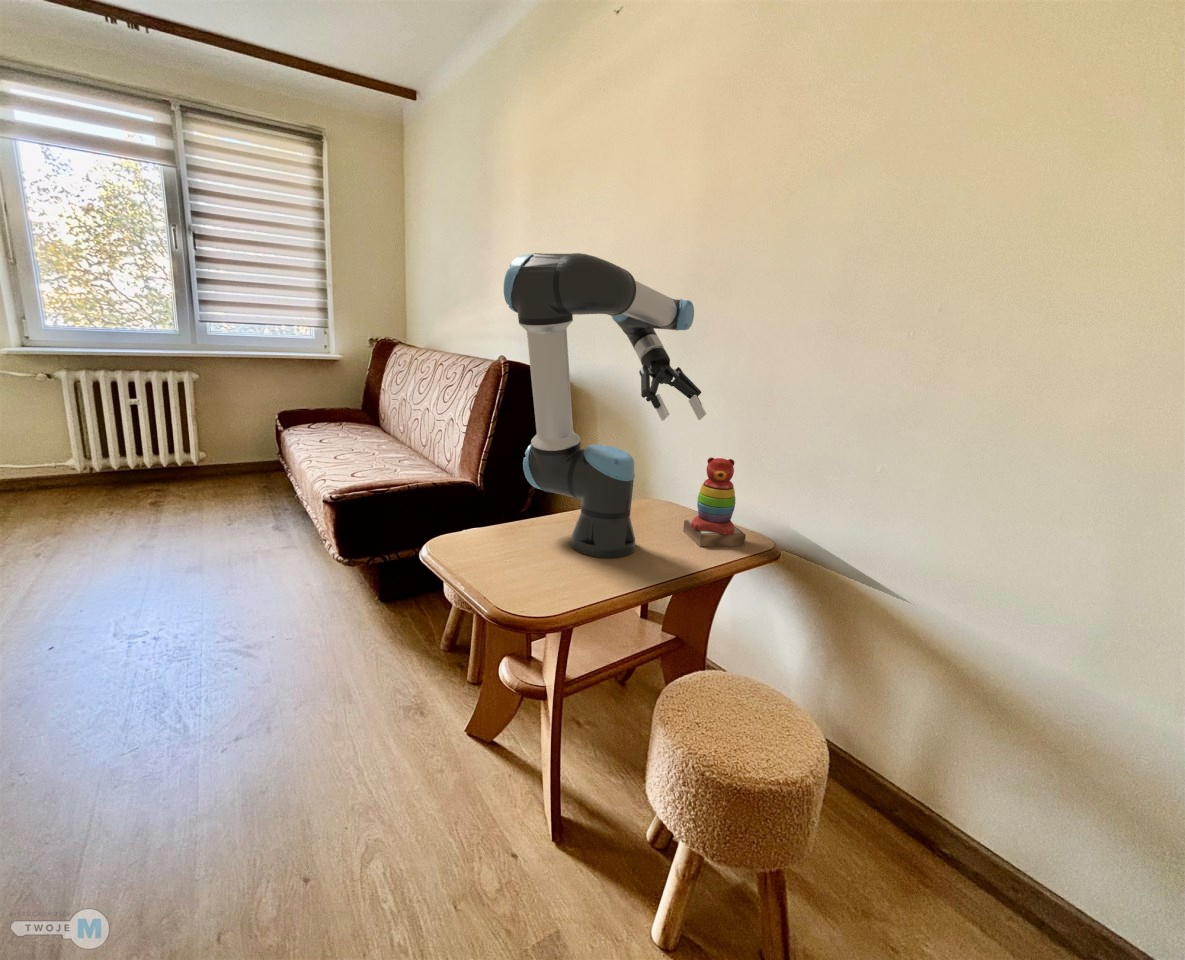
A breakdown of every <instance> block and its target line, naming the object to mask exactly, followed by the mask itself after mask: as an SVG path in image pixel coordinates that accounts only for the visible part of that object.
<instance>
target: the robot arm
mask: <svg viewBox="0 0 1185 960" xmlns="http://www.w3.org/2000/svg"><path fill="white" fill-rule="evenodd" d="M503 297H504V301H505V303H506V305H508V308H509V310H512V311H513V312H514V313H517V320H518V325H520V326H521V327H522V328H523V329H524V330H525V331H526V337H527V346H528V347H527V348H528V357H529V365H530V366H529V369H530V379H531V389H532V390H531V391H532V397H533V408H534V418H535V420H534V421H535V429H536V430H535V431H536V434H535V435H534V436H533V437H532V438H531V440H530V444H528V446H527V448H526V449H525V452H524V455H525V457H523V461H522V469H523V473H524V476H525V479H526V480H527V482H528V483H529V484H530V485H531V486H532V487H534V488H535V489H538V490H541V491H544V492H545V493H554V494H558V495H563V496H567V497H569V498H570V497H571V498H576V499H579V500H581V501H580V502H581V503H580V505H581V506H580V514H579V517H578V519H577V521H576V524H575V526H574V529H573V531H572V535H571V547H572V548H573V549H574V550H576V551H577V552H579V553H581V554H583V555H587V556H590V557H596V558H604V559H605V558H606V559H610V558H611V559H612V558H613V559H614V558H621V557H622V558H623V557H626V556H628V555H631V554H633V552H634V551H635V548H636V537H635V533H634V528H633V524H632V519H631V509H632V501H633V500H632V499H633V492H634V491H633V490H634V479H635V477H636V475H635V459H634V458H633V456H632V454H630V453H629V452H627V451H625V450H623V449H621V448H618V447H615V446H614V447H613V446H612V445H611V446H609V445H603V444H589V445H587V446H586V447H585V448H582V446H581V445H582V444H581V437H580V436H579V434H577V433H576V432H575V431H574V425H573V424H574V423H573V409H572V396H571V395H572V394H571V390H572V389H571V378H570V377H571V376H570V365H569V364H570V363H569V361H570V360H569V349H568V345H569V344H568V331H567V329H568V327H569V325H570V324H572V322H574V316H573V315H576V316H577V315H578V316H579V315H581V316H582V315H608V316H611V318H612V320H613V321H614V322H615V323H616V324H617V326H618V327H619V328H621V330H622V332H623V333H624V334H625V336H626V337H627V339H628V340H629V341H630V344H631V346H632V347H633V350H634V351H635V354H636V355H637V357H638V359H639V361H640V363H641V368H640V369H639V371H638V373H639V376H640V391H641V393H640V396H641V397H642V398H643V399H644V398H645V400H646V401H647V402H651V404H652V406H653V408H654V409H655V410H656V412H657V414H658V417H659V418H660V421H665V420H666V419H667V418H668V417H669V415H670V412H669V410H668V408H667V407H666V404H665V403H664V401H663V397H661V394H660V393H657V391H658V388H659V387H660V386H659V385H663V384H664V385H669V386H670V387H673V388H675V389H676V390H677V391H679V392H680V393H681V394H682V395H684V396H685V397H686V398H688V403H689V405H690V407H691V409H692V411H693V412H694V414H695V416H696V418H697V420H698V421H701V420H702V419H703V418H704V417H705V416H706V415H707V412H706V410H705V409H704V407H703V404H702V402H701V400H700V398H699V396H700V395H702V391H701V389H700V388H699V387H698V386H696V384H695V383H694V382H693V381H691V379H690V378H689V377H688V376H687V375H686V374H685V373H684V371H683V370H682V368H680V367H677V368H673V367H672V366H671V358H670V356H669V354H668V352H667V351H666V349H665V347H664V344H663V342H662V341H661V339H660V337H659V336H658V334H657V333H656V331H655V329H658V330H670V331H671V330H672V331H688V330H689V329H690V328H691V327H692V325H693V322H694V318H695V317H694V316H695V307H694V304H693V302H692V301H691V300H689V299H682V298H680V299H676V298H672V297H669V296H667V295H665V294H663V293H662V292H659V291H657V290H656V289H653V288H651V287H649V286H647V285H646V284H643V283H641V282H639V281H637V280H636V279H635V277H634V276H633V274H632V273H631V272H630V271H629V270H627V269H625V268H622V267H621V266H619V265H617V264H614V263H612V262H610V261H608V260H605V259H602V258H600V257H598V256H594V255H590V254H586V253H581V252H580V253H579V252H577V253H576V252H573V253H541V252H540V253H538V252H537V253H536V252H535V253H529V254H522V255H518V256H516V257H515V258H514V259H513V260H512V261H511V263H510V264H509V267H508V268H507V269H506V272H505V275H504V279H503ZM651 379H652V380H651Z"/></svg>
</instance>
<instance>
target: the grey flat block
mask: <svg viewBox="0 0 1185 960" xmlns="http://www.w3.org/2000/svg"><path fill="white" fill-rule="evenodd" d="M692 520H693V519H689V520H688V519H685V520H683V529H682V531H683V532H684V534H686V536H688V537H689V539H691V540H692V542H694V541H695V542H696V543H695V542H694V543H695V544H696V545H697V544H698V545H699V546H698V545H697V546H698V547H699V548H701V547H700V546H709V547H734V546H733V545H744V546H745V543H746V533H744V532H743V531H742V530H740V529H739V528H738V527H737V526H736V525H734V528H735V530H734V533H733V534H731V535H726V534H721V533H718V532H715V531H708V530H695V529H693V528H691V522H692Z"/></svg>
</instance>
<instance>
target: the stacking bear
mask: <svg viewBox="0 0 1185 960" xmlns="http://www.w3.org/2000/svg"><path fill="white" fill-rule="evenodd" d="M734 466H735V460H734V459H732V458H729V459H726V458H723V457H721V458H720V457H717V458H714V457H709V458H708V459H707V466H706V476H707V479H705V480H704V482H702V484H701V487H700V488H699V492H698V495H697V500H696V503H697V512H698V513H697V514H698V515H696V516H695V517H694V518H692V519H691V520H692V522H691V528H693V529H695V530H708V531H715V532H718V533H721V534H726V535H731V534H733V533H734V530H735V528H734V526H735V525H734V523H733V522H732V520H731V519H732V517H733V514H734V511H735V508H736V507H735V506H736V493H735V492H736V491H735V490H736V489H735V487H734V483H733V482H732V481H731V480H732V478H733V476H734V473H735V467H734Z"/></svg>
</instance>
